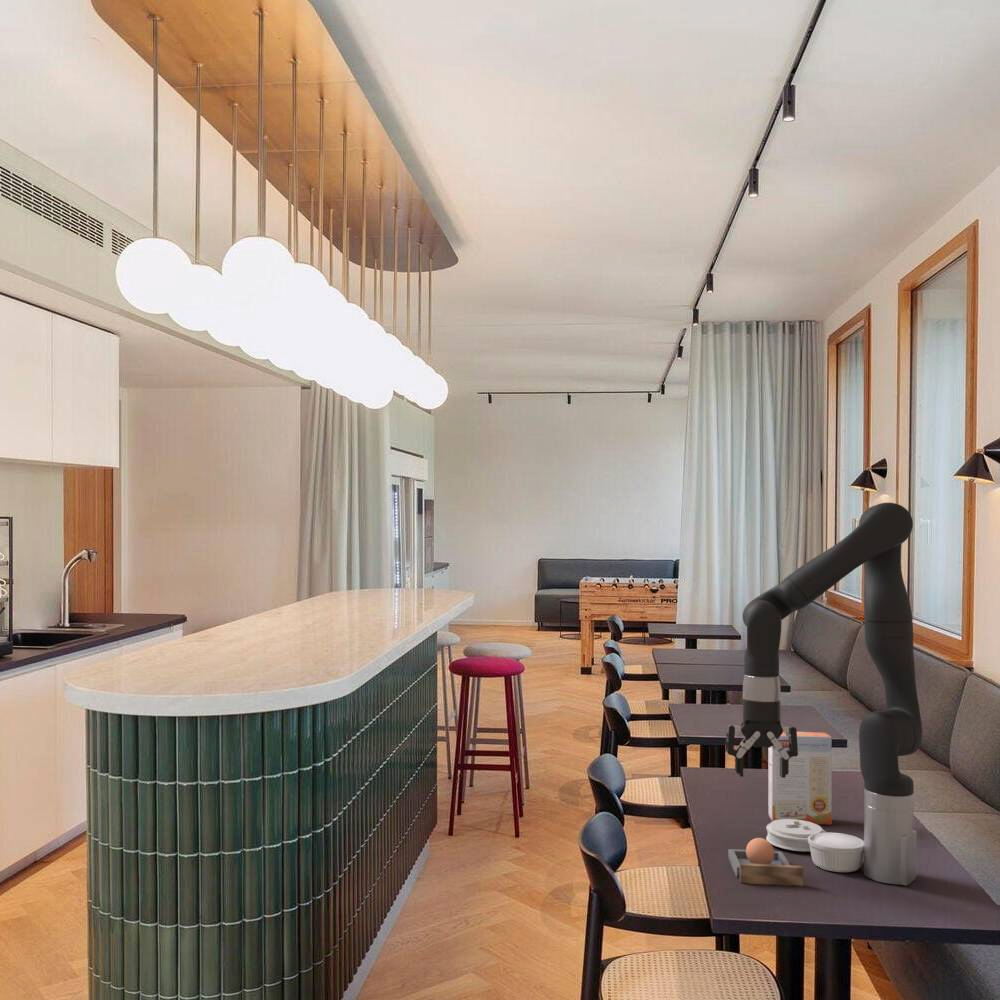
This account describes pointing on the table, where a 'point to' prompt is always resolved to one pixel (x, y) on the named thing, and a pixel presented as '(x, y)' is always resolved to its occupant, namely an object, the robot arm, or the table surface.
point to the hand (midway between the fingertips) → (761, 776)
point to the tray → (741, 857)
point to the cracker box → (802, 780)
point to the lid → (791, 833)
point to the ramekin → (836, 851)
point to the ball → (759, 851)
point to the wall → (771, 874)
